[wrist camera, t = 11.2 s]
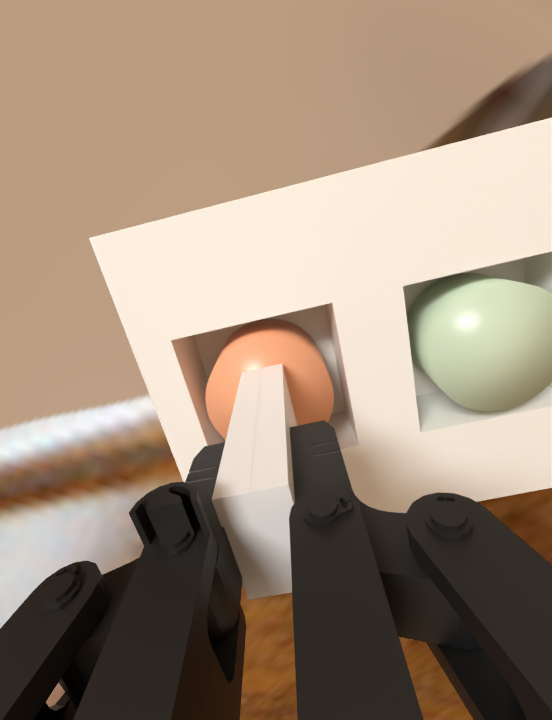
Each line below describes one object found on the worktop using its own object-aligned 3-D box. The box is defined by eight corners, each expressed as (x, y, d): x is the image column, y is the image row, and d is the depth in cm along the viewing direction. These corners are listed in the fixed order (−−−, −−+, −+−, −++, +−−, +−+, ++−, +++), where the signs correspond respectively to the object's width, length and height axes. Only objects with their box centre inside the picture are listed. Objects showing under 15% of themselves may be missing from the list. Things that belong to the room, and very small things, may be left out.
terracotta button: (234, 425, 18) (225, 466, 15) (204, 332, 16) (188, 356, 13) (331, 405, 17) (344, 442, 14) (311, 307, 16) (320, 325, 13)
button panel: (222, 492, 20) (210, 551, 17) (133, 236, 16) (88, 238, 12) (713, 394, 18) (826, 436, 15) (773, 71, 14) (958, 11, 10)
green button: (410, 388, 17) (439, 422, 14) (397, 287, 15) (427, 301, 12) (515, 366, 17) (568, 396, 14) (513, 260, 15) (573, 268, 12)
